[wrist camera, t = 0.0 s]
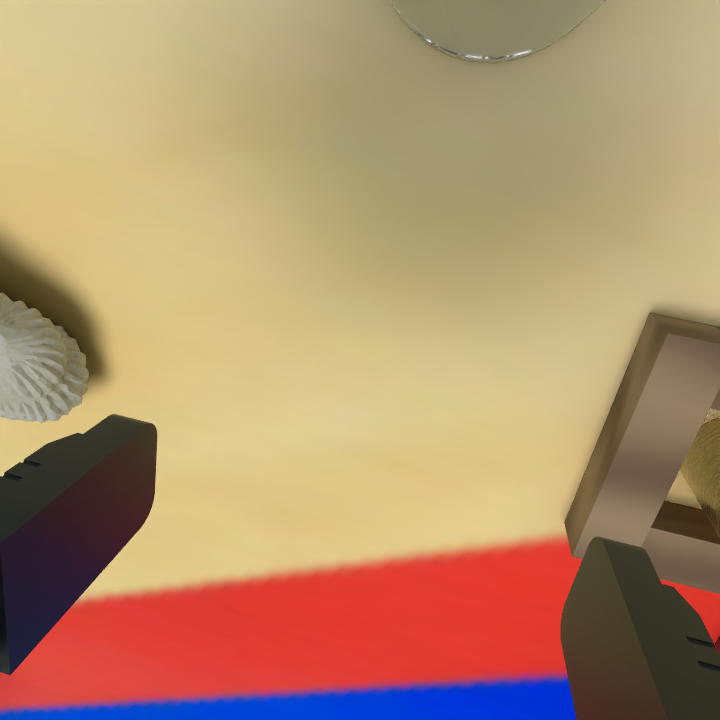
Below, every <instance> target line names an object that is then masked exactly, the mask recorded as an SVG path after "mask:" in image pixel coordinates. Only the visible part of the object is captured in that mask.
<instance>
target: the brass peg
mask: <svg viewBox="0 0 720 720" xmlns="http://www.w3.org/2000/svg"><path fill="white" fill-rule="evenodd" d="M680 469H681V472H682V474H683V476H684V478H685V479H686V481H687V483H688V484H689V486H690V488H691V490H692V491H693V493H694V495H695V496H696V498H697V500H698V502H699V503H700V505H701V507H702V508H703V510H704V512H705V514H706V515H707V517H708V519H709V520H710V522H711V524H712V526H713V527H714V529H715V531H716V533H717V534H718V536H719V538H720V418H718V419H715V420H712V421H710V422H708V423H706V424H704V425H702V426H701V427H700V429H699V431H698V433H697V435H696V437H695V439H694V441H693V443H692V445H691V447H690V449H689V451H688V453H687V455H686V457H685V459H684V461H683V463H682V465H681V467H680Z"/></svg>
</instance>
